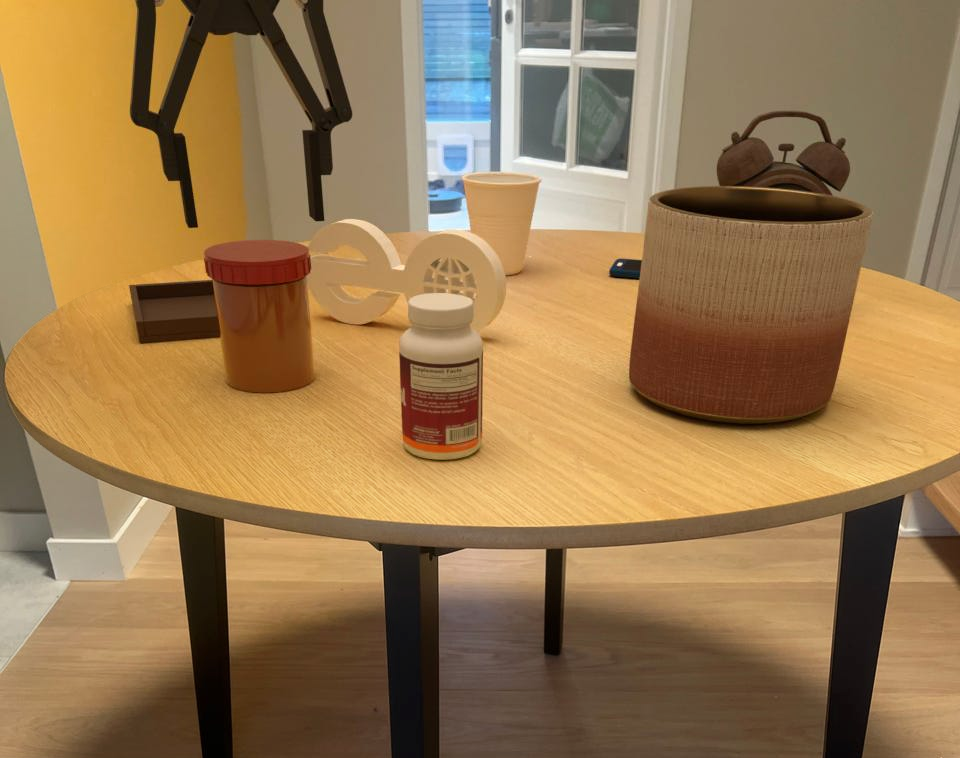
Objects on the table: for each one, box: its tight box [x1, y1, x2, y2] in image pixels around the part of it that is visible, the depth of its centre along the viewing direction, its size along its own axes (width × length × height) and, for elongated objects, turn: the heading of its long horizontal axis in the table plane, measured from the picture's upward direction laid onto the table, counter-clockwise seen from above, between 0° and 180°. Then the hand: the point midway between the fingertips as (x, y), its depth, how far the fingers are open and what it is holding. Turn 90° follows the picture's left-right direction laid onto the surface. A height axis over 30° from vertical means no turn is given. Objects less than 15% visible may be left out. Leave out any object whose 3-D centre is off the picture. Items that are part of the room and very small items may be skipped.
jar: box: [211, 276, 316, 394], centre depth 83 cm, size 8×8×10 cm
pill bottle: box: [398, 292, 484, 461], centre depth 70 cm, size 6×6×11 cm
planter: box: [628, 185, 874, 425], centre depth 80 cm, size 18×18×16 cm
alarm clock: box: [716, 110, 851, 196], centre depth 103 cm, size 15×7×20 cm, turn 92°
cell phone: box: [608, 257, 642, 279], centre depth 121 cm, size 7×14×1 cm, turn 75°
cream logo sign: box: [307, 218, 507, 333], centre depth 97 cm, size 22×2×10 cm, turn 67°
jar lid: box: [203, 239, 311, 285], centre depth 80 cm, size 9×9×2 cm
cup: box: [461, 171, 543, 276], centre depth 119 cm, size 10×10×11 cm
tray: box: [128, 279, 220, 344], centre depth 101 cm, size 13×15×2 cm
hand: (255, 221), depth 78 cm, fingers open, 10 cm apart
